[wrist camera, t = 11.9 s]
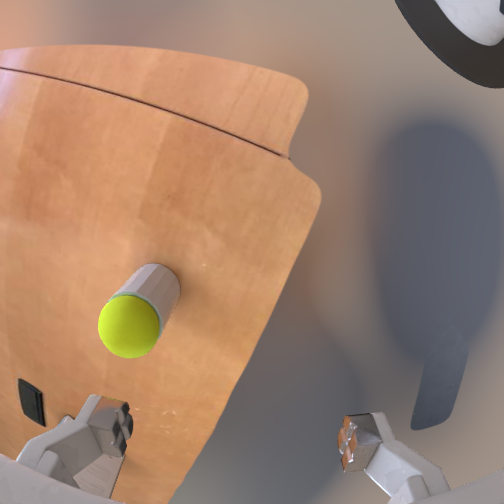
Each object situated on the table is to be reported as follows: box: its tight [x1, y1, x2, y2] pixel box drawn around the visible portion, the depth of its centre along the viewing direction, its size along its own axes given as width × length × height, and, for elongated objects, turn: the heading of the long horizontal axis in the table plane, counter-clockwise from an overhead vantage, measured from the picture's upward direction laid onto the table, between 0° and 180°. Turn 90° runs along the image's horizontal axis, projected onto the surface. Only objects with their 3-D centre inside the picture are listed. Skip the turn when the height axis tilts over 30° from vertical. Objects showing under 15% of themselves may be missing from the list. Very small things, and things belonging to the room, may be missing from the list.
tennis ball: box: [98, 295, 160, 358], centre depth 30 cm, size 7×7×7 cm
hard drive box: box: [57, 415, 125, 499], centre depth 42 cm, size 16×8×20 cm, turn 45°
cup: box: [107, 263, 181, 340], centre depth 36 cm, size 7×7×9 cm
